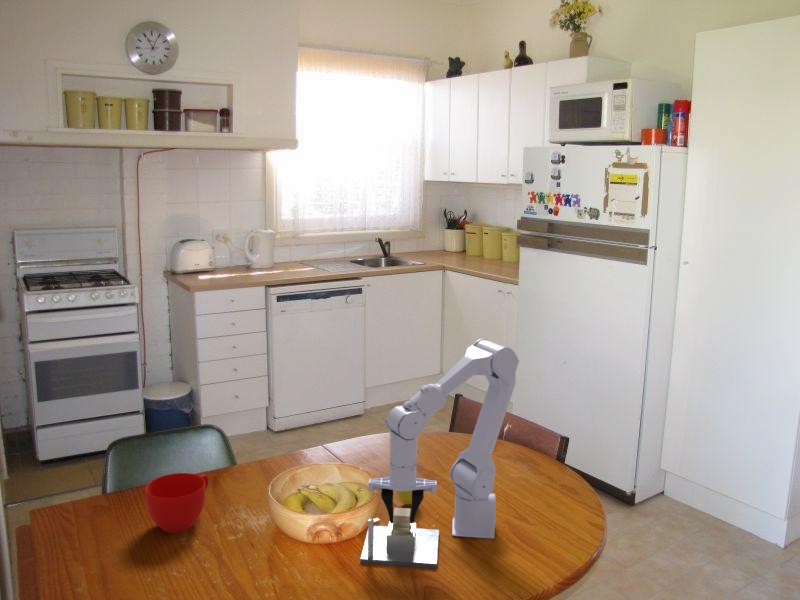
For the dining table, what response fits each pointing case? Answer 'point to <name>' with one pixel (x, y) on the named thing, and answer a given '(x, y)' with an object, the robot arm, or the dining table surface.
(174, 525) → the ceramic cup
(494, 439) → the robot arm
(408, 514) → the block
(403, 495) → the lemon
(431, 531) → the stand
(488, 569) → the dining table surface
